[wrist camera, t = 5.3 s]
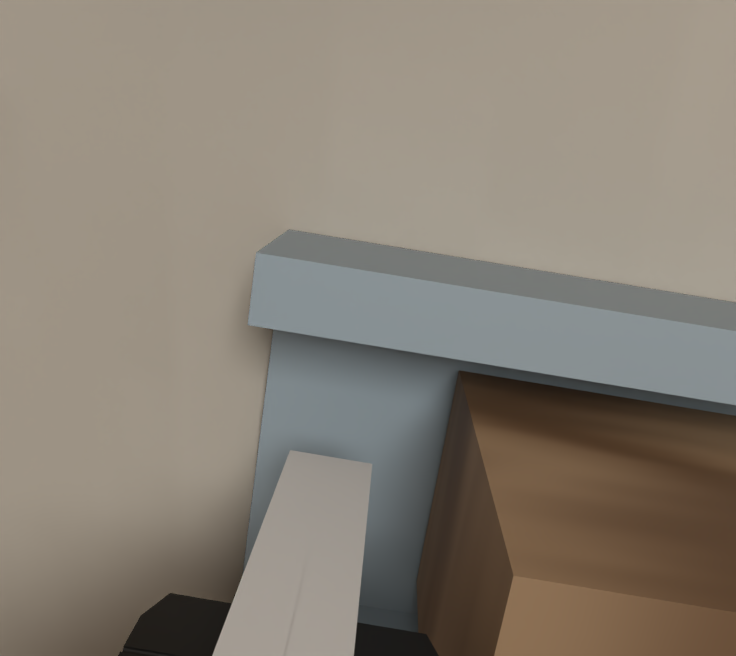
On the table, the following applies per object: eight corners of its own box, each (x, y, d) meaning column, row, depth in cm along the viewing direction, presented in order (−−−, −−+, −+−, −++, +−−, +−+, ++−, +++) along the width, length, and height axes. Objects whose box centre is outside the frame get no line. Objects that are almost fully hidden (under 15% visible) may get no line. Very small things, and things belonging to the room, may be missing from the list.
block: (416, 580, 15) (429, 924, 8) (459, 370, 14) (514, 575, 7) (682, 625, 15) (908, 1003, 8) (749, 418, 14) (1077, 668, 7)
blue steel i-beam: (239, 618, 16) (200, 730, 13) (288, 229, 14) (256, 252, 11) (900, 727, 16) (1022, 867, 13) (1062, 356, 14) (1258, 417, 11)
